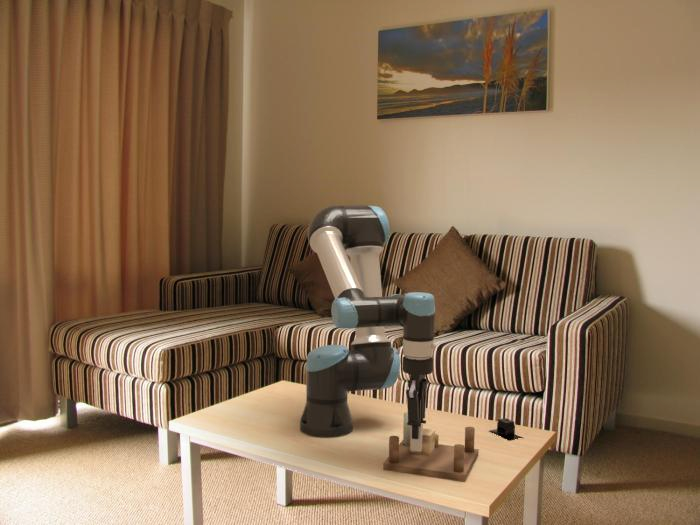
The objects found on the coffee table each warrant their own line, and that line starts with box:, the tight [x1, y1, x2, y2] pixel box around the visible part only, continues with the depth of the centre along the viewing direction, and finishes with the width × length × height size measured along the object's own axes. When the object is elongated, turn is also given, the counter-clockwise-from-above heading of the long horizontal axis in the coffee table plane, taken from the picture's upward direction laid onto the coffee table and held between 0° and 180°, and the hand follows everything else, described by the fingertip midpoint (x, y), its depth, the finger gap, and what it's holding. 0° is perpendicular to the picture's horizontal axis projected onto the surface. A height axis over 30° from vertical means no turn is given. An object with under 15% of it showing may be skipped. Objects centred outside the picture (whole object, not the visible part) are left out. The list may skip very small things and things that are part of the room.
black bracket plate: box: [488, 417, 524, 442], centre depth 200 cm, size 12×7×5 cm, turn 27°
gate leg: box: [402, 411, 411, 445], centre depth 186 cm, size 6×3×8 cm, turn 76°
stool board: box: [382, 426, 479, 483], centre depth 178 cm, size 20×18×8 cm
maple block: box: [411, 427, 436, 455], centre depth 181 cm, size 5×5×5 cm
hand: (416, 450), depth 176 cm, fingers closed
